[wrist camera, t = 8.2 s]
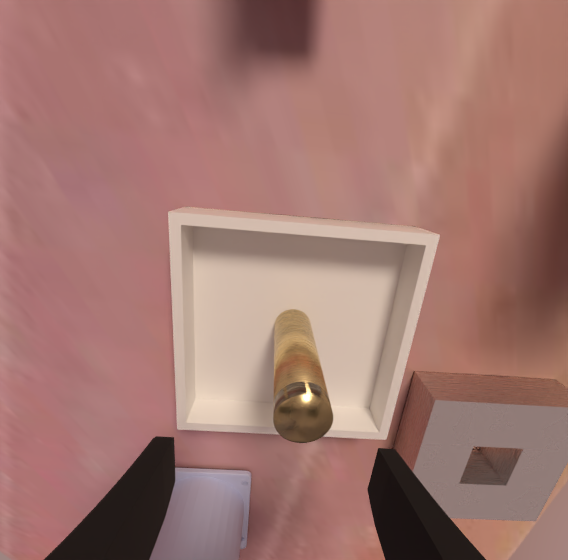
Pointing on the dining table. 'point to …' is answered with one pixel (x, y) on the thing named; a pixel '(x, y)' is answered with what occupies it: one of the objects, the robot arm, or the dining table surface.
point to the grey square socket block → (485, 442)
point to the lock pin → (298, 381)
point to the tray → (284, 296)
